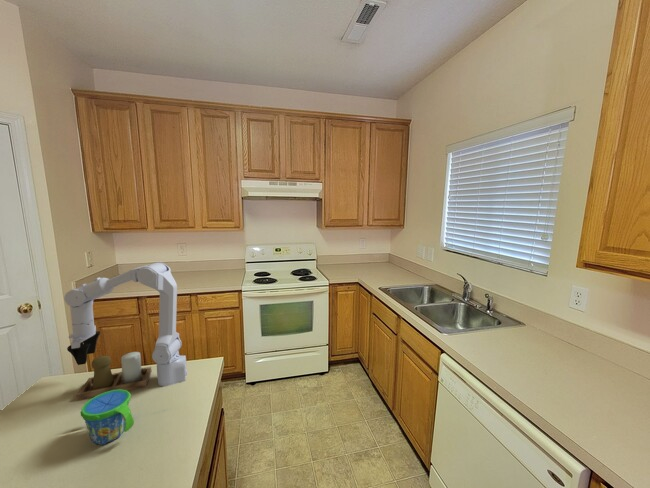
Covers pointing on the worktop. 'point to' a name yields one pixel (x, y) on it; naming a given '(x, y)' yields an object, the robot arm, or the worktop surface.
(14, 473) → the worktop surface
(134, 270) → the robot arm
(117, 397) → the snack cup
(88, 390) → the caddy
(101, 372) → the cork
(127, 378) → the salt shaker
